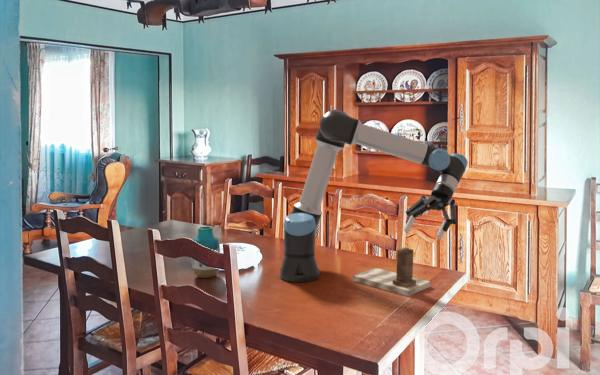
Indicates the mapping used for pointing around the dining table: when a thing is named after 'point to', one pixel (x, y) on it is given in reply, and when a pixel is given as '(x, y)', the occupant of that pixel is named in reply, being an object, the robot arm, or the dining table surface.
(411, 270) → the brown pillar
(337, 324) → the dining table surface
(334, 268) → the dining table surface
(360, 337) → the dining table surface
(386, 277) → the board
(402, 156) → the robot arm
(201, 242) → the vase
